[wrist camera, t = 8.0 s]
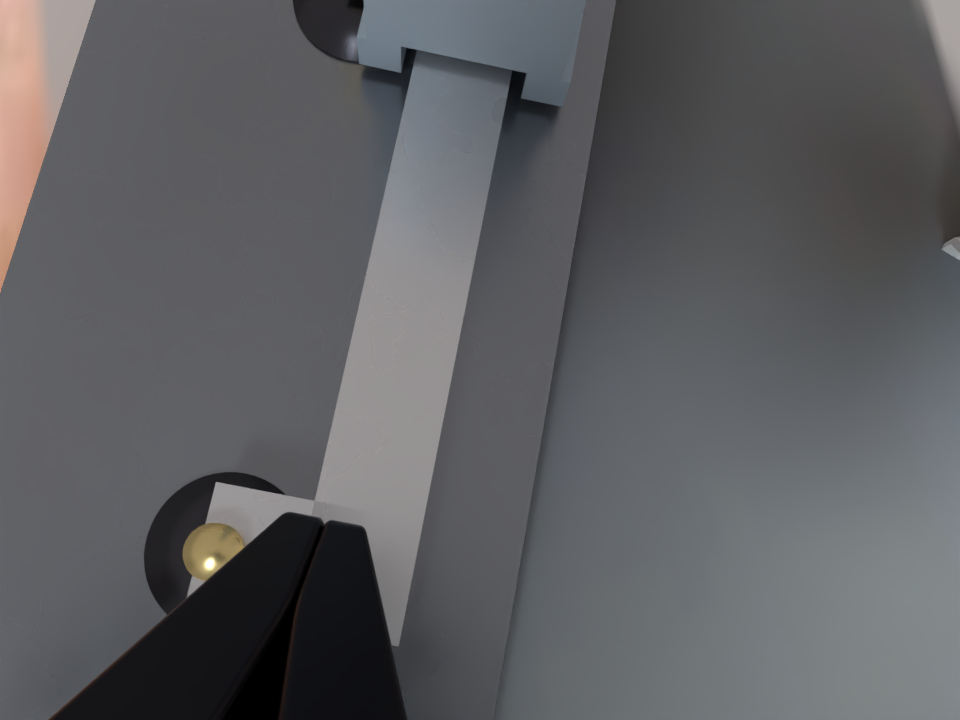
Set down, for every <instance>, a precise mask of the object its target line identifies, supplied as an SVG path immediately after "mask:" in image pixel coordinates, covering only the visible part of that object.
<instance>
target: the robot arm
mask: <svg viewBox="0 0 960 720" xmlns="http://www.w3.org/2000/svg"><path fill="white" fill-rule="evenodd" d="M48 720H408V716H407V711H406V707H405V702H404V698H403V693H402V689H401V684H400V680H399V675H398V671H397V666H396V662H395V657H394V653H393V648H392V644H391V640H390V635H389V631H388V626H387V622H386V617H385V613H384V608H383V604H382V599H381V595H380V590H379V586H378V581H377V577H376V572H375V568H374V563H373V559H372V554H371V550H370V545H369V541H368V536H367V532H366V530H365V528H364V527H363V526H361V525H357V524H352V523H347V522H342V521H336V520H329V521H327V522H326V523H325V524H324V522H323V520H322V519H321V518H319V517H315V516H310V515H305V514H300V513H294V512H286V513H284V514H282V515H281V516H279V517H278V518H277V519H276V520H275V521H274V522H273V523H271V524H270V525H269V526H268V527H267V528H266V529H265V530H263V531H262V532H261V533H260V534H259V535H258V536H257V537H255V538H254V539H253V540H252V541H251V542H250V543H249V544H247V545H246V546H245V547H244V548H243V549H242V550H241V551H240V552H238V553H237V554H236V555H235V556H234V557H233V558H232V559H230V560H229V561H228V562H227V563H226V564H225V565H224V566H222V567H221V568H220V569H219V570H218V571H217V572H216V573H214V574H213V575H212V576H211V577H210V578H209V579H208V580H206V581H205V582H204V583H203V584H202V585H201V586H200V587H198V588H197V589H196V590H195V591H194V592H193V593H192V594H190V595H189V596H188V597H187V598H186V599H185V600H184V601H182V602H181V603H180V604H179V605H178V606H177V607H176V608H174V609H173V610H172V611H171V612H170V613H169V614H168V615H166V616H165V617H164V618H163V619H162V620H161V621H160V622H158V623H157V624H156V625H155V626H154V627H153V628H152V629H150V630H149V631H148V632H147V633H146V634H145V635H144V636H142V637H141V638H140V639H139V640H138V641H137V642H136V643H134V644H133V645H132V646H131V647H130V648H129V649H128V650H126V651H125V652H124V653H123V654H122V655H121V656H120V657H118V658H117V659H116V660H115V661H114V662H113V663H112V664H111V665H109V666H108V667H107V668H106V669H105V670H104V671H103V672H101V673H100V674H99V675H98V676H97V677H96V678H95V679H93V680H92V681H91V682H90V683H89V684H88V685H87V686H85V687H84V688H83V689H82V690H81V691H80V692H79V693H77V694H76V695H75V696H74V697H73V698H72V699H71V700H69V701H68V702H67V703H66V704H65V705H64V706H63V707H61V708H60V709H59V710H58V711H57V712H56V713H55V714H53V715H52V716H51V717H50V718H49V719H48Z"/></svg>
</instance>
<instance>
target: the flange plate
mask: <svg viewBox="0 0 960 720" xmlns="http://www.w3.org/2000/svg"><path fill="white" fill-rule="evenodd" d="M615 5H616V0H587V2H586V5H585V8H584V11H583V16H582V22H581V28H580V33H579V39H578V44H577V50H576V55H575V61H574V67H573V72H572V78H571V83H570V86H569V89H568V92H567V94H566V97H565V100H564V103H563V106H562V107H560V106H555V105H551V104H546V103H541V102H536V101H532V100H527V99H522V98H521V95H522V90H523V85H524V80H525V75H526V73H524V72H519V71H514V70H510V69H505V68H500V67H496V66H491V65H486V64H481V63H477V62H472V61H467V60H463V59H458V58H453V57H449V56H444V55H439V54H434V53H430V52H425V51H420V50H416V49H411V48H407V49H406V54H405V58H404V62H403V67H402V71H401V73H399V72H395V71H390V70H385V69H380V68H376V67H371V66H366V65H362V64H359V56H358V46H357V34H358V29H359V25H360V21H361V17H362V13H363V9H364V1H363V0H96V2H95V5H94V8H93V11H92V14H91V17H90V20H89V23H88V26H87V29H86V32H85V35H84V39H83V41H82V45H81V47H80V51H79V54H78V57H77V60H76V63H75V66H74V69H73V72H72V75H71V78H70V81H69V85H68V87H67V90H66V93H65V96H64V100H63V103H62V106H61V109H60V112H59V115H58V118H57V121H56V124H55V127H54V130H53V133H52V136H51V139H50V142H49V145H48V149H47V152H46V155H45V158H44V161H43V164H42V167H41V170H40V173H39V176H38V179H37V182H36V185H35V188H34V191H33V195H32V198H31V201H30V204H29V207H28V210H27V213H26V216H25V219H24V222H23V225H22V228H21V231H20V234H19V237H18V240H17V244H16V247H15V250H14V253H13V256H12V259H11V262H10V265H9V268H8V271H7V274H6V277H5V280H4V283H3V286H2V289H1V293H0V720H48V719H49V718H50V717H51V716H52V715H53V714H55V713H56V712H57V711H58V710H59V709H60V708H61V707H63V706H64V705H65V704H66V703H67V702H68V701H69V700H71V699H72V698H73V697H74V696H75V695H76V694H77V693H79V692H80V691H81V690H82V689H83V688H84V687H85V686H87V685H88V684H89V683H90V682H91V681H92V680H93V679H95V678H96V677H97V676H98V675H99V674H100V673H101V672H103V671H104V670H105V669H106V668H107V667H108V666H109V665H111V664H112V663H113V662H114V661H115V660H116V659H117V658H118V657H120V656H121V655H122V654H123V653H124V652H125V651H126V650H128V649H129V648H130V647H131V646H132V645H133V644H134V643H136V642H137V641H138V640H139V639H140V638H141V637H142V636H144V635H145V634H146V633H147V632H148V631H149V630H150V629H152V628H153V627H154V626H155V625H156V624H157V623H158V622H160V621H161V620H162V619H163V618H164V617H165V616H166V615H168V614H169V613H170V612H171V611H172V610H173V609H174V608H176V607H177V606H178V605H179V604H180V603H181V602H182V601H184V600H185V599H186V598H187V597H188V596H189V595H190V594H192V593H193V592H194V591H195V590H196V589H197V588H198V587H200V586H201V585H202V584H203V583H204V582H205V581H206V580H208V579H209V578H210V577H211V576H212V575H213V574H214V573H216V572H217V571H218V570H219V569H220V568H221V567H222V566H224V565H225V564H226V563H227V562H228V561H229V560H230V559H232V558H233V557H234V556H235V555H236V554H237V553H238V552H240V551H241V550H242V549H243V548H244V547H245V546H246V545H247V544H249V543H250V542H251V541H252V540H253V539H254V538H255V537H257V536H258V535H259V534H260V533H261V532H262V531H263V530H265V529H266V528H267V527H268V526H269V525H270V524H271V523H273V522H274V521H275V520H276V519H277V518H278V517H279V516H281V515H282V514H284V513H286V512H294V513H300V514H305V515H310V516H315V517H319V518H321V519H322V520H323V522H324V524H325V523H326V522H327V521H329V520H336V521H342V522H347V523H352V524H357V525H361V526H363V527H364V528H365V530H366V532H367V536H368V541H369V545H370V550H371V554H372V559H373V563H374V568H375V572H376V577H377V581H378V586H379V590H380V595H381V599H382V604H383V608H384V613H385V617H386V622H387V626H388V631H389V635H390V640H391V644H392V648H393V653H394V657H395V662H396V666H397V671H398V675H399V680H400V684H401V689H402V693H403V698H404V702H405V707H406V711H407V716H408V720H494V715H495V709H496V703H497V697H498V691H499V686H500V680H501V674H502V668H503V662H504V656H505V650H506V645H507V639H508V633H509V627H510V621H511V615H512V609H513V603H514V598H515V592H516V586H517V580H518V574H519V568H520V562H521V556H522V551H523V545H524V539H525V533H526V527H527V521H528V515H529V510H530V504H531V498H532V492H533V486H534V480H535V474H536V468H537V463H538V457H539V451H540V445H541V439H542V433H543V427H544V421H545V416H546V410H547V404H548V398H549V392H550V386H551V380H552V375H553V369H554V363H555V357H556V351H557V345H558V339H559V333H560V328H561V322H562V316H563V310H564V304H565V298H566V292H567V286H568V281H569V275H570V269H571V263H572V257H573V251H574V245H575V240H576V234H577V228H578V222H579V216H580V210H581V204H582V198H583V193H584V187H585V181H586V175H587V169H588V163H589V157H590V151H591V146H592V140H593V134H594V128H595V122H596V116H597V110H598V105H599V99H600V93H601V87H602V81H603V75H604V69H605V63H606V58H607V52H608V46H609V40H610V34H611V28H612V22H613V16H614V11H615Z"/></svg>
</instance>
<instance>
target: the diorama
mask: <svg viewBox="0 0 960 720" xmlns="http://www.w3.org/2000/svg"><path fill="white" fill-rule="evenodd" d="M942 250H943V251H945V252H947V253H948V254H950V255H951V256H953V257H955V258H956V259H958V260H960V236H959V237H954V238H953V239H951V240H949V241H948V242H946V243H944V245H943V247H942Z"/></svg>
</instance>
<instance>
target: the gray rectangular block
mask: <svg viewBox="0 0 960 720" xmlns="http://www.w3.org/2000/svg"><path fill="white" fill-rule="evenodd" d="M363 1H364V9H363V13H362V17H361V21H360V25H359V29H358V34H357V46H358V56H359V64H362V65H366V66H371V67H376V68H380V69H385V70H390V71H395V72H399V73H401V71H402V67H403V62H404V58H405V54H406V49H407V48H411V49H416V50H420V51H425V52H430V53H434V54H439V55H444V56H449V57H453V58H458V59H463V60H467V61H472V62H477V63H481V64H486V65H491V66H496V67H500V68H505V69H510V70H514V71H519V72H524V73H526V75H525V80H524V85H523V90H522V95H521V98H522V99H527V100H532V101H536V102H541V103H546V104H551V105H555V106H560V107H562V106H563V103H564V100H565V97H566V94H567V92H568V89H569V86H570V83H571V78H572V72H573V67H574V61H575V55H576V50H577V44H578V39H579V33H580V28H581V22H582V16H583V11H584V8H585V5H586V2H587V0H363Z"/></svg>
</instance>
